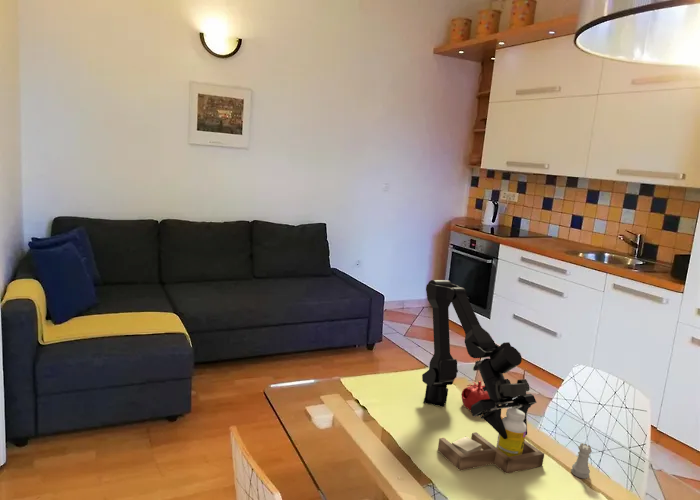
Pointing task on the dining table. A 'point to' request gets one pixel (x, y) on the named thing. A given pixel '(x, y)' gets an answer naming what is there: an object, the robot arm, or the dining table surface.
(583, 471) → the rook chess piece
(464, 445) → the offcut stack
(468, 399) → the pomegranate
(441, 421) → the dining table surface
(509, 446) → the supplement bottle
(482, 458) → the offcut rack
